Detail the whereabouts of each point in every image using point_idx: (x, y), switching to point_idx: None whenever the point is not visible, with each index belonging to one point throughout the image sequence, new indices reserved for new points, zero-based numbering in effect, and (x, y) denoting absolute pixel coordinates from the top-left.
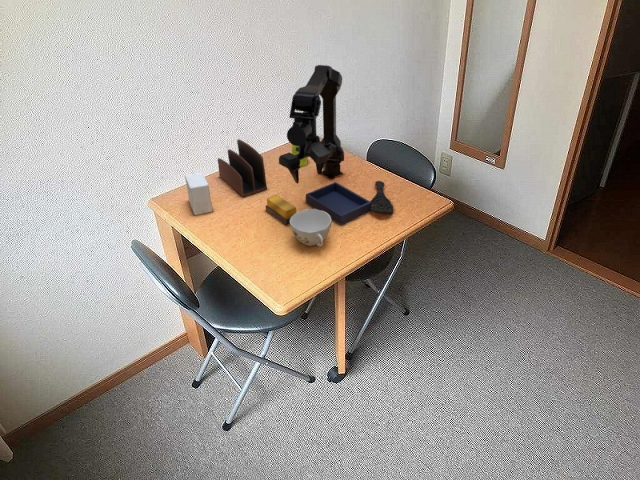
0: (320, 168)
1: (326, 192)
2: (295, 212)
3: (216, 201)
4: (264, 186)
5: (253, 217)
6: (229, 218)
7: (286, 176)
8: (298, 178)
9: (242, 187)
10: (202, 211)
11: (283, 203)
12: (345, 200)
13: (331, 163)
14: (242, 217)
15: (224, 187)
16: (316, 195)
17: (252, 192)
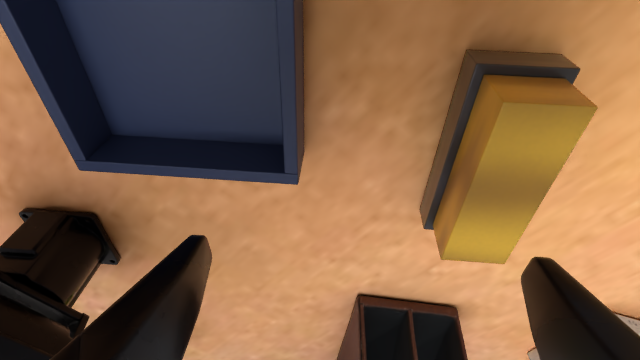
0: (161, 306)
1: (168, 144)
2: (496, 83)
3: (528, 331)
4: (365, 309)
5: (565, 211)
6: (620, 257)
7: (245, 304)
8: (588, 318)
9: (464, 347)
10: (636, 326)
11: (505, 185)
12: (93, 13)
13: (38, 277)
14: (588, 235)
15: None
16: (235, 153)
17: (419, 308)
